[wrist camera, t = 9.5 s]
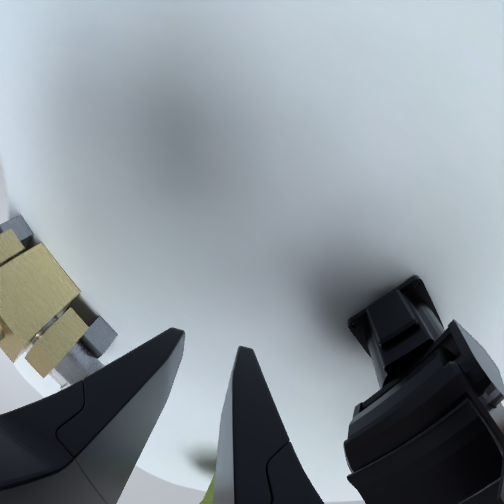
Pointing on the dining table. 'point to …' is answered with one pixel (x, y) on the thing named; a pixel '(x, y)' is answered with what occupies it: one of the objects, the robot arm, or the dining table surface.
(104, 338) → the valve
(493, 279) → the dining table surface
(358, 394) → the dining table surface
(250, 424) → the robot arm
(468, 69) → the dining table surface
